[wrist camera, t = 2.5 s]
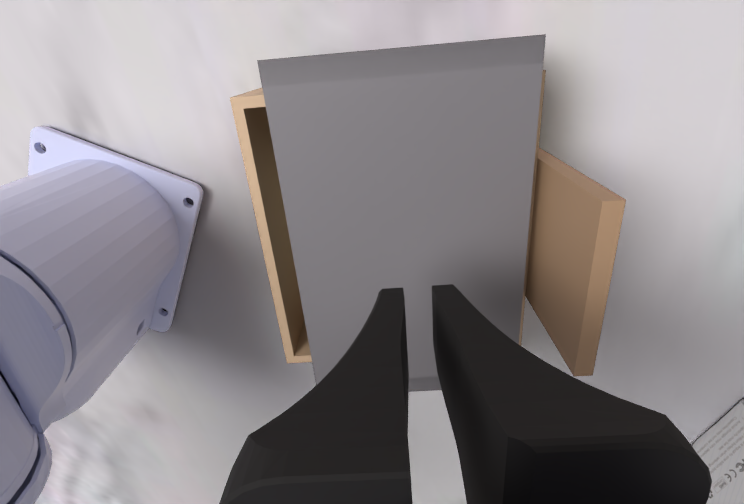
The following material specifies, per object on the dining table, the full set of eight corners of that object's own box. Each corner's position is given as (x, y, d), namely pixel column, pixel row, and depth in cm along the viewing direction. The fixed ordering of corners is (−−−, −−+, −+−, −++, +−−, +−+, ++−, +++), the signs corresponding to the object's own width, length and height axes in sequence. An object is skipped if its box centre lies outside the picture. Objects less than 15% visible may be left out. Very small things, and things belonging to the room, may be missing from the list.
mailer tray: (301, 312, 24) (260, 454, 15) (260, 87, 19) (164, 118, 10) (507, 300, 23) (580, 440, 15) (524, 65, 18) (649, 76, 10)
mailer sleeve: (330, 324, 24) (318, 396, 19) (290, 58, 18) (257, 60, 13) (486, 315, 24) (514, 386, 19) (498, 38, 18) (545, 34, 13)
